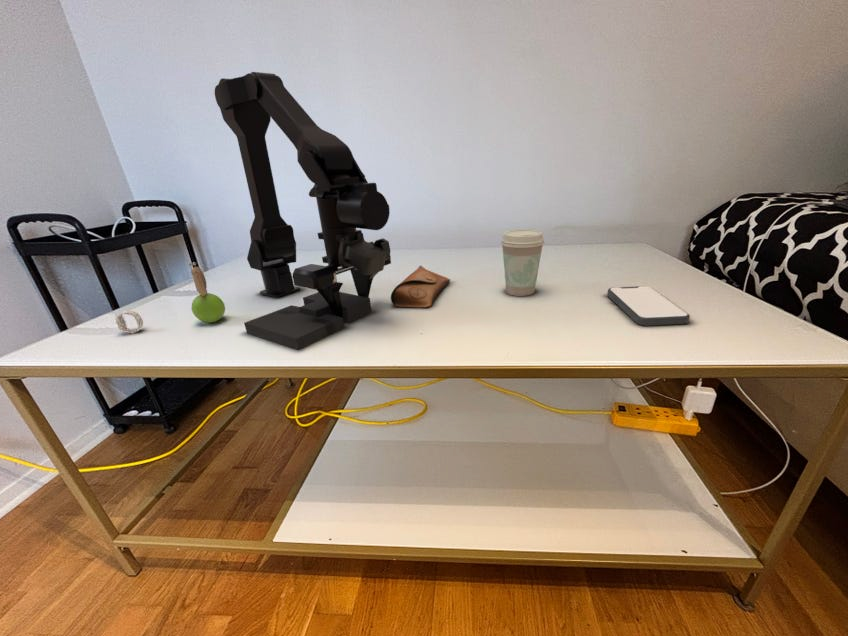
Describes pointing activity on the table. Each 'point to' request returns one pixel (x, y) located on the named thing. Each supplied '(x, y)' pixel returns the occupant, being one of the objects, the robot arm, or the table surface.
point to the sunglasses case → (418, 289)
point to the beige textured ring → (122, 324)
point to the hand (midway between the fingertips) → (352, 311)
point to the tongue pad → (350, 303)
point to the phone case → (647, 306)
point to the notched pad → (293, 327)
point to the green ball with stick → (205, 299)
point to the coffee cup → (521, 260)
